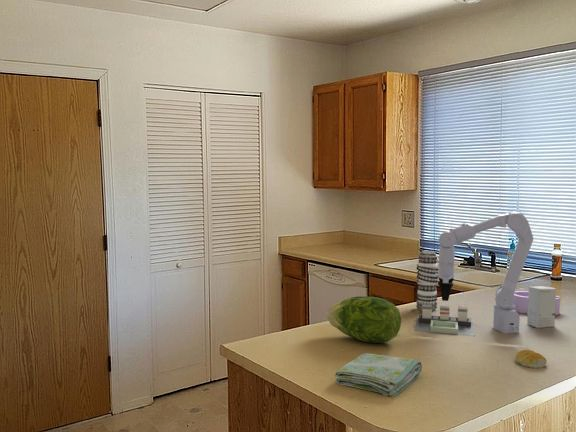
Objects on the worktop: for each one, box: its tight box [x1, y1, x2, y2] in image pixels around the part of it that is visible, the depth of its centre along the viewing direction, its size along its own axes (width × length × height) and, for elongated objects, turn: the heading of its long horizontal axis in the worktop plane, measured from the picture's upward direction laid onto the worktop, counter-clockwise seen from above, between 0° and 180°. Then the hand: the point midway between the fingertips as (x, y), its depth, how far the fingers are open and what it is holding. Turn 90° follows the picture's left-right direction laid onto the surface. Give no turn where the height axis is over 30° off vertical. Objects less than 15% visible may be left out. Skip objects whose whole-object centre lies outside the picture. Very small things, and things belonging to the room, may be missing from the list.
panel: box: [413, 314, 476, 337], centre depth 206 cm, size 19×21×3 cm
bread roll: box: [514, 349, 547, 369], centre depth 169 cm, size 8×9×4 cm
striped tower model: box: [415, 250, 439, 312], centre depth 232 cm, size 9×9×25 cm
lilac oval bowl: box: [513, 290, 561, 316], centre depth 234 cm, size 20×12×7 cm, turn 59°
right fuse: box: [457, 306, 468, 321], centre depth 209 cm, size 3×3×6 cm
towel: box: [334, 352, 423, 397], centre depth 155 cm, size 18×21×5 cm
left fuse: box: [421, 304, 433, 319], centre depth 212 cm, size 3×3×6 cm
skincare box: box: [526, 285, 557, 329], centre depth 210 cm, size 8×6×15 cm
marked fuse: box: [439, 305, 450, 320], centre depth 211 cm, size 4×4×6 cm
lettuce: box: [326, 295, 402, 344], centre depth 191 cm, size 15×27×16 cm, turn 60°
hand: (445, 298), depth 210 cm, fingers open, 7 cm apart
